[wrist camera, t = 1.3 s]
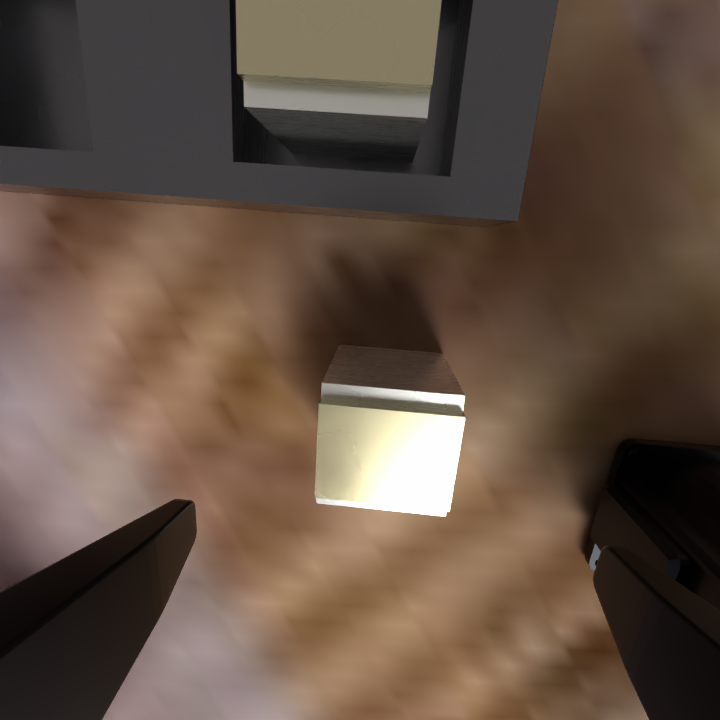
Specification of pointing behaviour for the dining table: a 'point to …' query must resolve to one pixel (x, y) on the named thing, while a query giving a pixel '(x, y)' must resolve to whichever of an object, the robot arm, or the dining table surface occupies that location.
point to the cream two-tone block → (389, 431)
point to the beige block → (339, 73)
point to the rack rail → (240, 128)
